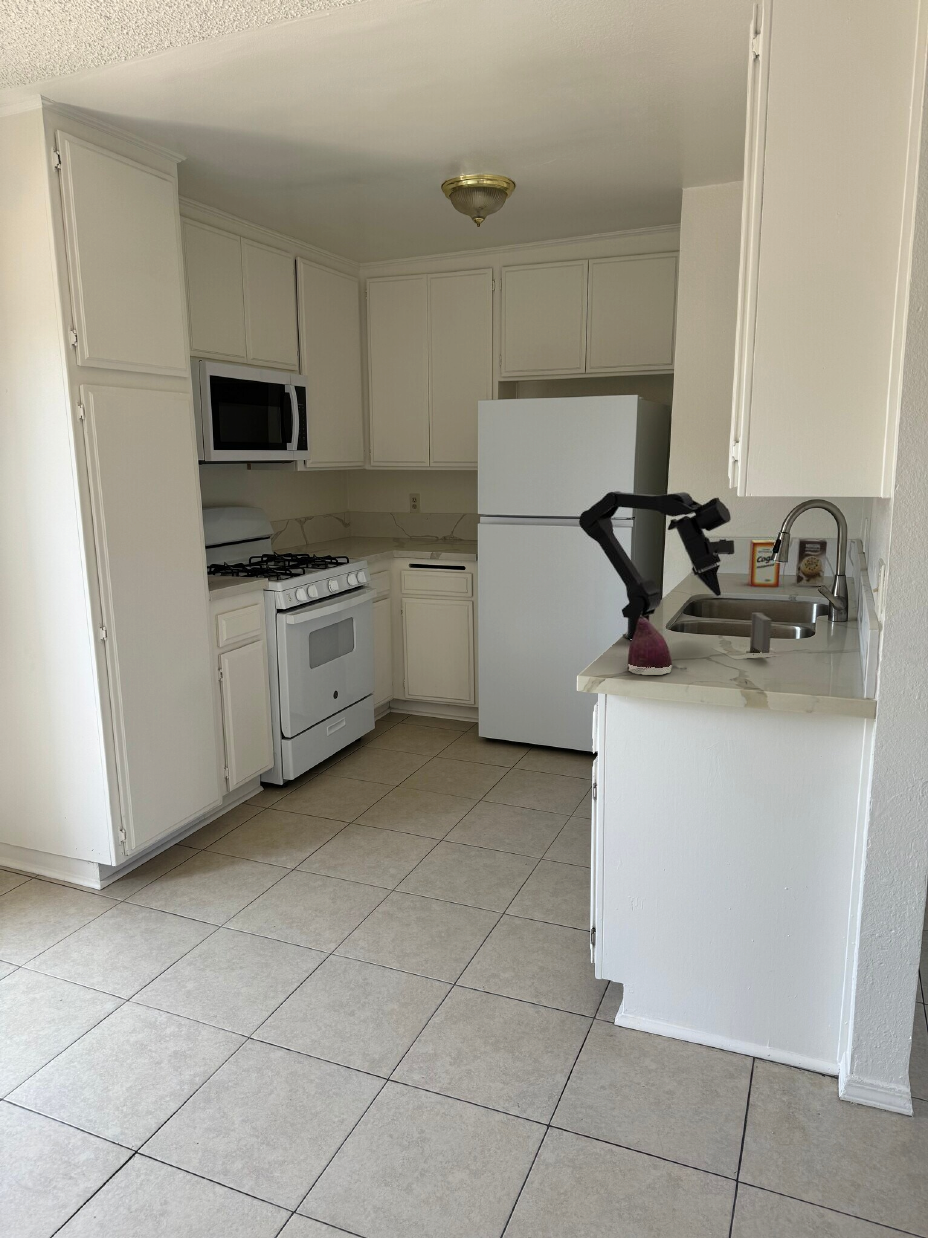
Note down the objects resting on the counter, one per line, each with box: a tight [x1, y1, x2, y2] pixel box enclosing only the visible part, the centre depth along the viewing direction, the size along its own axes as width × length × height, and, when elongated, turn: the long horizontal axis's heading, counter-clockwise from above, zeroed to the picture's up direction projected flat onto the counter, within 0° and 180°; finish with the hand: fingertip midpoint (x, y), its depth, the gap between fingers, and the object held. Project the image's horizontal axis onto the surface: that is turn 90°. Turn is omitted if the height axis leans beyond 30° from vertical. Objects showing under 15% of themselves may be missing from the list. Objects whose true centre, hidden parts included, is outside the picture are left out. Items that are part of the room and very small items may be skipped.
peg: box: [749, 612, 774, 653], centre depth 208 cm, size 6×8×10 cm
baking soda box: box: [747, 539, 781, 588], centre depth 306 cm, size 10×6×16 cm
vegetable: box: [627, 615, 673, 668], centre depth 201 cm, size 10×10×15 cm
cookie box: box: [794, 538, 828, 587], centre depth 304 cm, size 9×6×16 cm
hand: (719, 595), depth 217 cm, fingers closed
